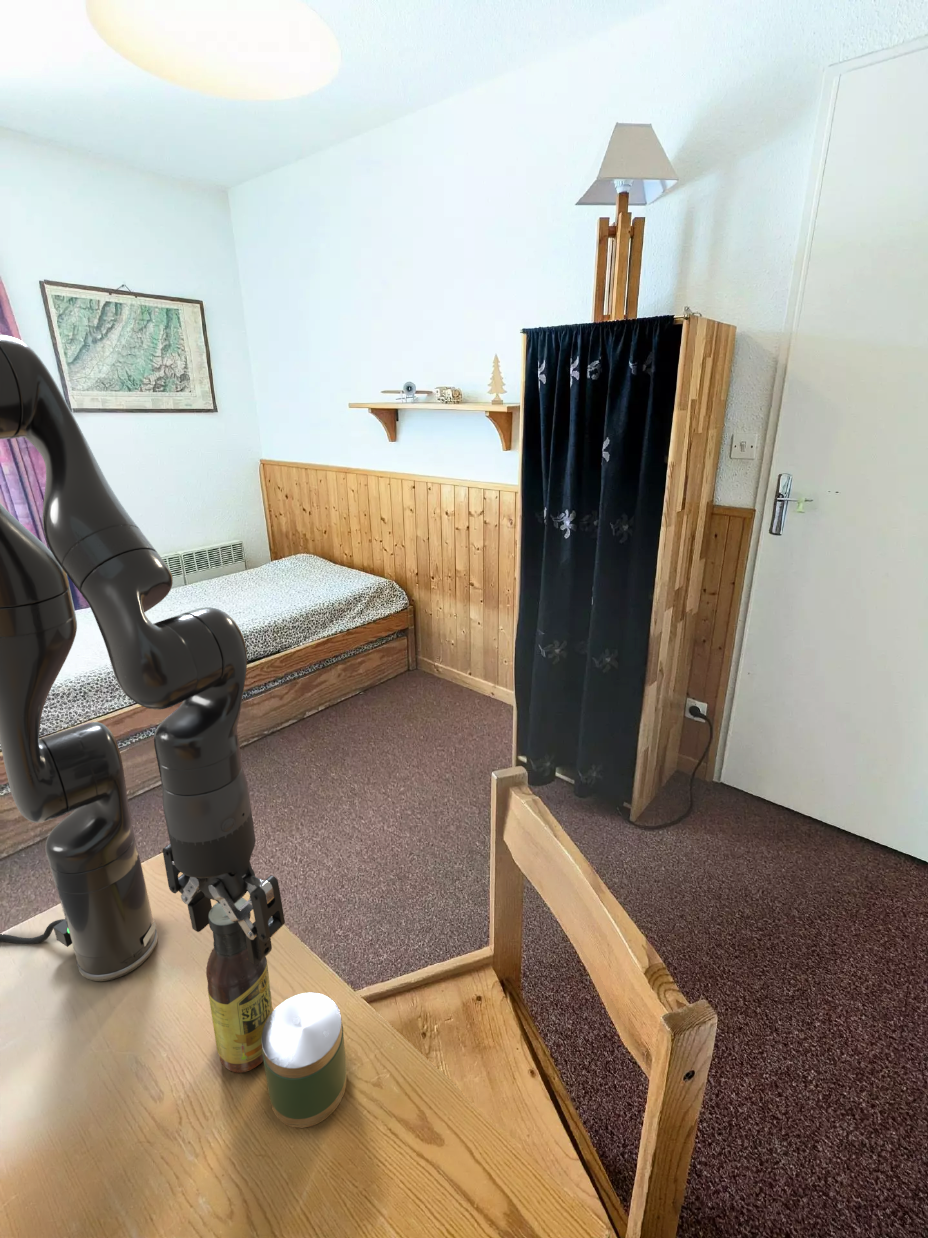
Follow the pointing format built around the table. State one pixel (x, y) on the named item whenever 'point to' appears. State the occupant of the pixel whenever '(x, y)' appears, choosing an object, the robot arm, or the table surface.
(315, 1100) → the tin can
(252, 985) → the sauce bottle
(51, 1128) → the table surface
